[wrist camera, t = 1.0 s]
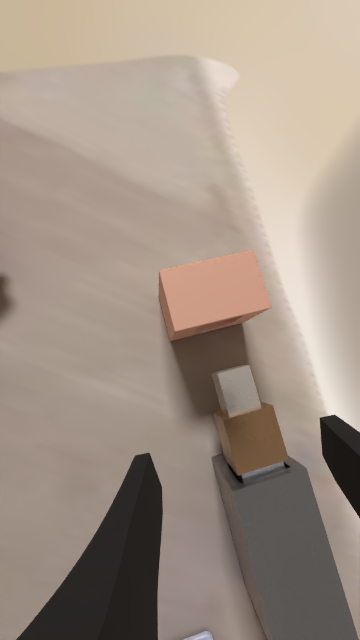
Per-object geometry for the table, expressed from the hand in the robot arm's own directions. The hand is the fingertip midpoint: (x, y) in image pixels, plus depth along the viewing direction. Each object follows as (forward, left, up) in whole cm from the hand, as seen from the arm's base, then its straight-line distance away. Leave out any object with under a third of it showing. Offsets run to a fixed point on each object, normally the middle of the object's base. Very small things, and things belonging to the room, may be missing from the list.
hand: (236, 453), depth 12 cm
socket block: (+9, -3, -14) cm, 16 cm away
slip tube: (-5, -3, -11) cm, 12 cm away
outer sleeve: (-9, -3, -14) cm, 17 cm away
